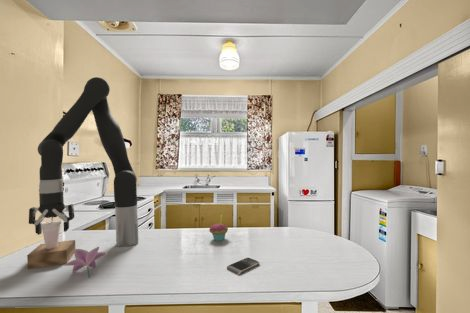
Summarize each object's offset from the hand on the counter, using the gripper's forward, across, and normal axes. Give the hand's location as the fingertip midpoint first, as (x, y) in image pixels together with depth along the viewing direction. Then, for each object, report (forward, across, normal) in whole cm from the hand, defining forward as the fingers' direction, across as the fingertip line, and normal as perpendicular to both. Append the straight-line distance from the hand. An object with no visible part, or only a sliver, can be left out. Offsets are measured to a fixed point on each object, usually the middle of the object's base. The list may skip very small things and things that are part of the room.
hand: (52, 232), depth 96 cm
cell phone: (+11, -66, +35) cm, 76 cm away
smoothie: (+6, 0, 0) cm, 6 cm away
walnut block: (+11, 0, 0) cm, 11 cm away
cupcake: (+11, -66, +4) cm, 67 cm away
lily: (+11, -15, +18) cm, 26 cm away
